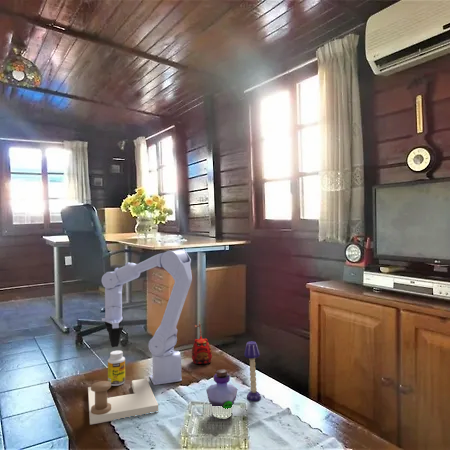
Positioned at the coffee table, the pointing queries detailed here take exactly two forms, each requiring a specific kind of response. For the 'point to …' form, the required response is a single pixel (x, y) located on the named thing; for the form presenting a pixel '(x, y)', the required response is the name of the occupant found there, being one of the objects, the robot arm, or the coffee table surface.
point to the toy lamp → (252, 369)
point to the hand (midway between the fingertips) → (114, 343)
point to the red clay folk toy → (201, 350)
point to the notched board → (120, 402)
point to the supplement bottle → (116, 368)
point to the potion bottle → (222, 390)
